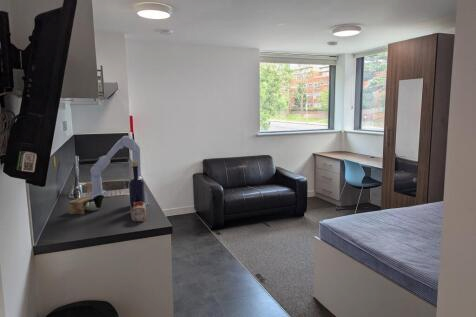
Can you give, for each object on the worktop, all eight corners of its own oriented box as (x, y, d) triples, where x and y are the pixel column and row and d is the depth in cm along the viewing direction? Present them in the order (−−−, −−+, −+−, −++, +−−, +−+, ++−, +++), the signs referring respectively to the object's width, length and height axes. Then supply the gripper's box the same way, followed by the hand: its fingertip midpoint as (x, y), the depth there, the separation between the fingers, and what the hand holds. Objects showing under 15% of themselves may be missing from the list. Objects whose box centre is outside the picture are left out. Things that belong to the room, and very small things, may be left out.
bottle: (147, 209, 205) (144, 160, 200) (144, 214, 195) (140, 162, 191) (132, 210, 204) (129, 160, 200) (127, 214, 195) (124, 163, 191)
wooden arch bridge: (101, 204, 217) (101, 194, 216) (83, 214, 198) (82, 202, 197) (89, 204, 219) (88, 194, 218) (69, 213, 200) (68, 202, 199)
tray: (99, 208, 210) (98, 201, 209) (94, 210, 205) (94, 203, 204) (85, 207, 211) (85, 200, 210) (81, 210, 206) (80, 203, 206)
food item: (146, 222, 182) (145, 204, 180) (131, 223, 180) (130, 205, 179) (146, 214, 195) (145, 198, 194) (132, 216, 193) (131, 199, 192)
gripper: (97, 183, 213) (99, 204, 214) (83, 188, 198) (85, 211, 200) (108, 183, 211) (109, 204, 213) (94, 188, 197) (96, 211, 199)
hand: (98, 207), depth 207 cm, fingers closed, pressing on tray
